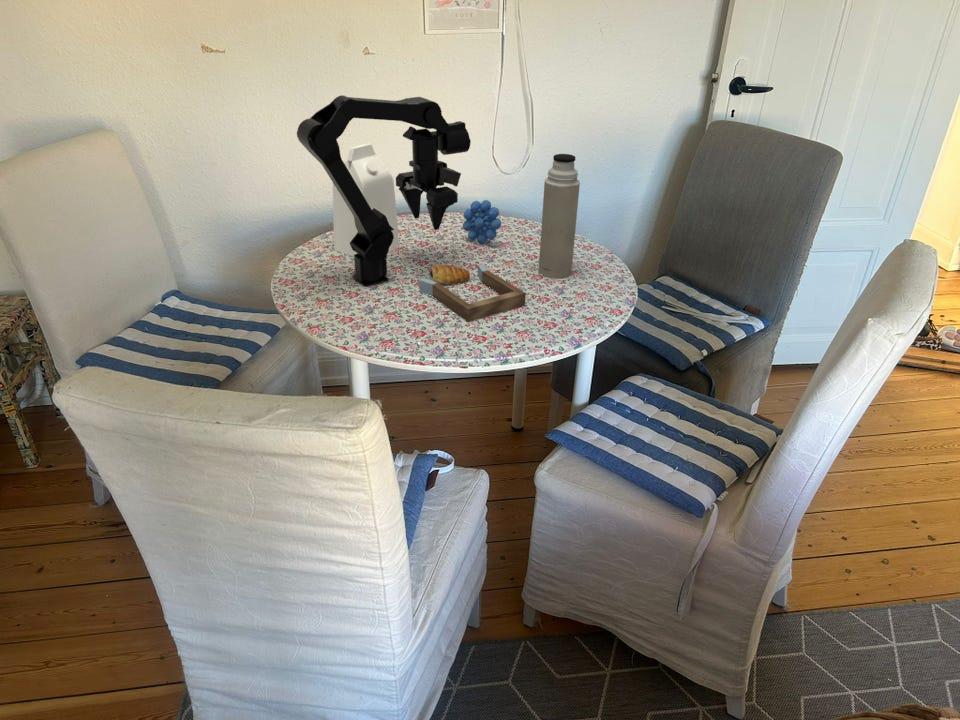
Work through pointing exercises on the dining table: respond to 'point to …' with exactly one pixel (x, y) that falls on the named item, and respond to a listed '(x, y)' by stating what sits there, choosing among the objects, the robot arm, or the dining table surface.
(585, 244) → the dining table surface
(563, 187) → the thermos bottle
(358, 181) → the milk
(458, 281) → the pastry
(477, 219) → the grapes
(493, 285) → the holder
